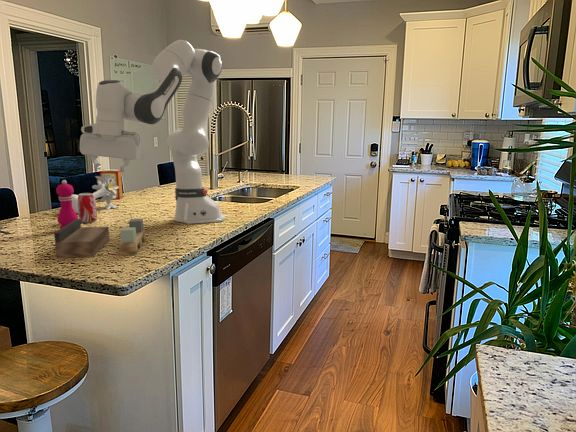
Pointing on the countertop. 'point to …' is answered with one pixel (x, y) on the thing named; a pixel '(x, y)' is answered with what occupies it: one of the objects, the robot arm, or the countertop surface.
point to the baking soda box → (118, 181)
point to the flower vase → (100, 192)
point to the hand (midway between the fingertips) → (110, 170)
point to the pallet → (132, 244)
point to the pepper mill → (65, 204)
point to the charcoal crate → (136, 224)
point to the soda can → (87, 207)
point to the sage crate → (128, 234)
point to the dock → (80, 240)
